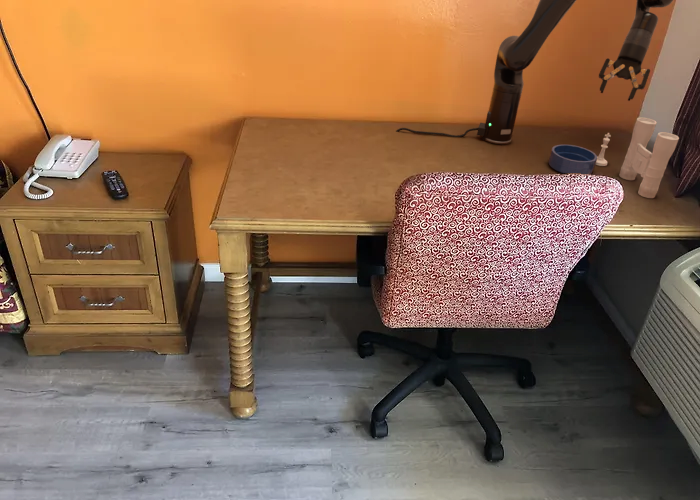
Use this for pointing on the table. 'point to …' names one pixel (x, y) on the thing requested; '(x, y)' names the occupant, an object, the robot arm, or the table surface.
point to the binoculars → (648, 156)
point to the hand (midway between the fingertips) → (615, 96)
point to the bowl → (572, 159)
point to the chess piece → (600, 158)
